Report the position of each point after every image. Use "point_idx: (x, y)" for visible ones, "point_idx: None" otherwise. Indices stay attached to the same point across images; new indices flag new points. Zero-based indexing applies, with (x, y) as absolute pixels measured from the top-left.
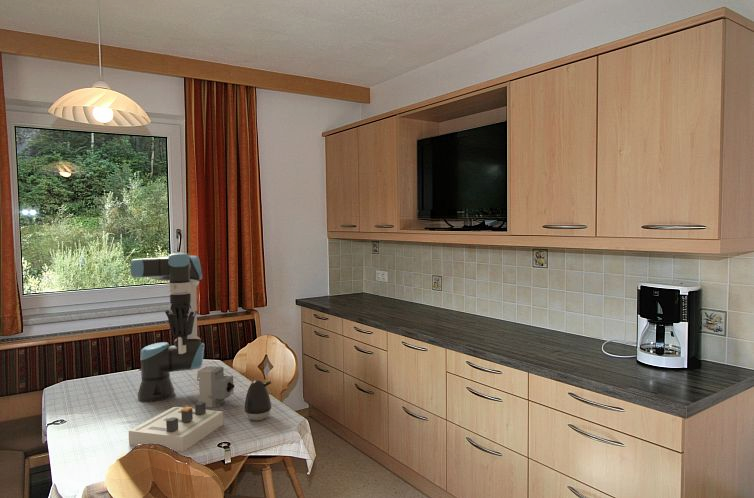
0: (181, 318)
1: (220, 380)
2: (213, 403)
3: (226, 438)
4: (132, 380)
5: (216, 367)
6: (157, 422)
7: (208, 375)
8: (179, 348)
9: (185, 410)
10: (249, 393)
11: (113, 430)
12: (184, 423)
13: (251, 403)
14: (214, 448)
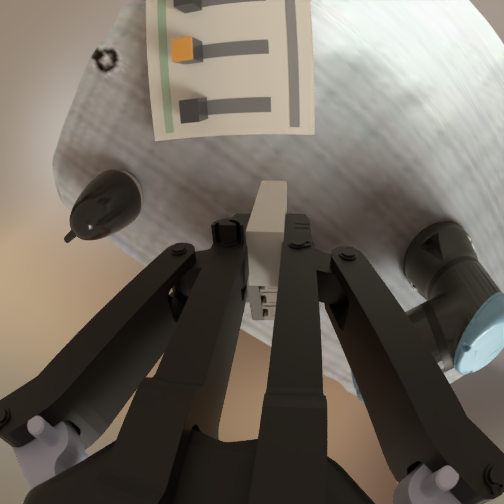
0: (154, 394)
1: None
2: None
3: (117, 81)
4: None
5: (272, 315)
6: (273, 24)
7: None
8: (275, 192)
9: (177, 39)
10: (94, 194)
11: (409, 46)
12: None
13: (97, 179)
14: (112, 39)
